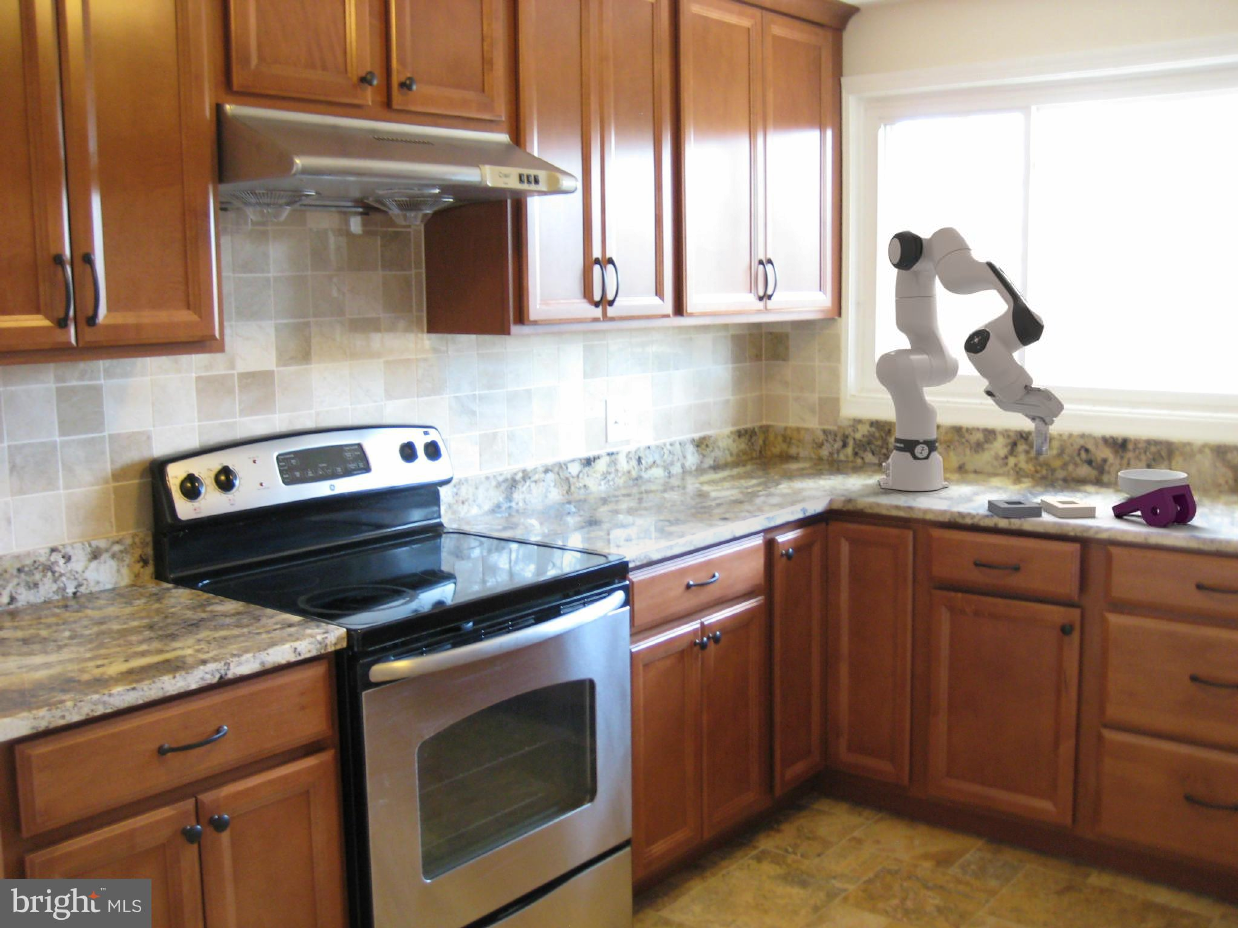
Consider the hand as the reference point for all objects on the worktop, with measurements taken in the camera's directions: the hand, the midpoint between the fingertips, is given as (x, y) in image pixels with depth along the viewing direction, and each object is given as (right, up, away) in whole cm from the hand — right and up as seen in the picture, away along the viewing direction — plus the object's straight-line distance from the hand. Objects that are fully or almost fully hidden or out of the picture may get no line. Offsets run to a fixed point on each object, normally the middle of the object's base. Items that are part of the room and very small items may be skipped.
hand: (1044, 422), depth 297 cm
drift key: (+2, -21, +13) cm, 25 cm away
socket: (-6, -22, +4) cm, 24 cm away
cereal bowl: (+34, -20, +18) cm, 44 cm away
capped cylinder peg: (-1, -8, +1) cm, 8 cm away
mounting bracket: (+22, -24, -8) cm, 34 cm away
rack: (+7, -22, +3) cm, 24 cm away
